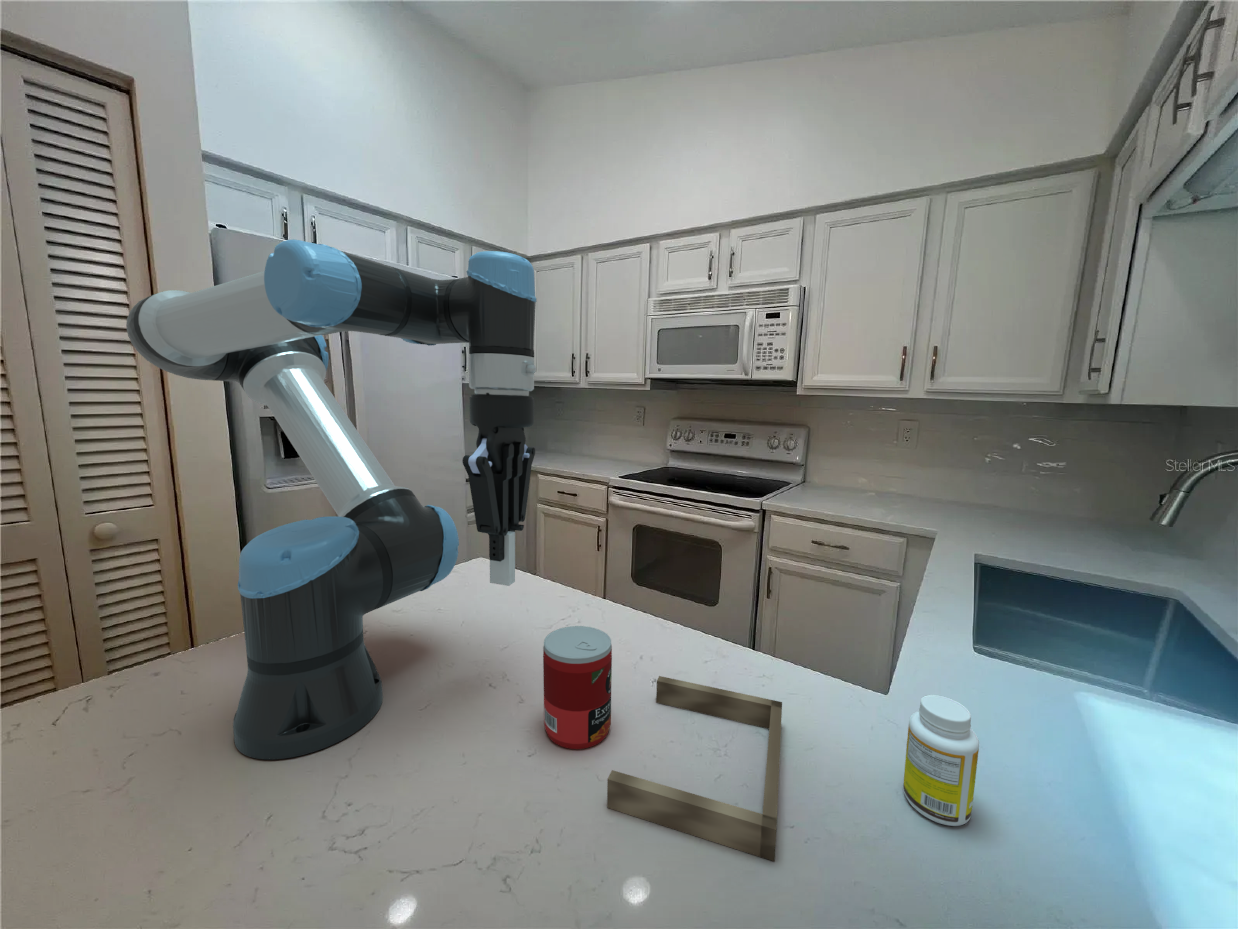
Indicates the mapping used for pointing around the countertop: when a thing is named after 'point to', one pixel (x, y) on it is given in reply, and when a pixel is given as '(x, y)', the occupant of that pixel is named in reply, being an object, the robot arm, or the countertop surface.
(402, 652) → the countertop surface
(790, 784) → the countertop surface
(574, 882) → the countertop surface
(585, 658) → the canned food
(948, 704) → the supplement bottle
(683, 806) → the bay
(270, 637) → the robot arm
